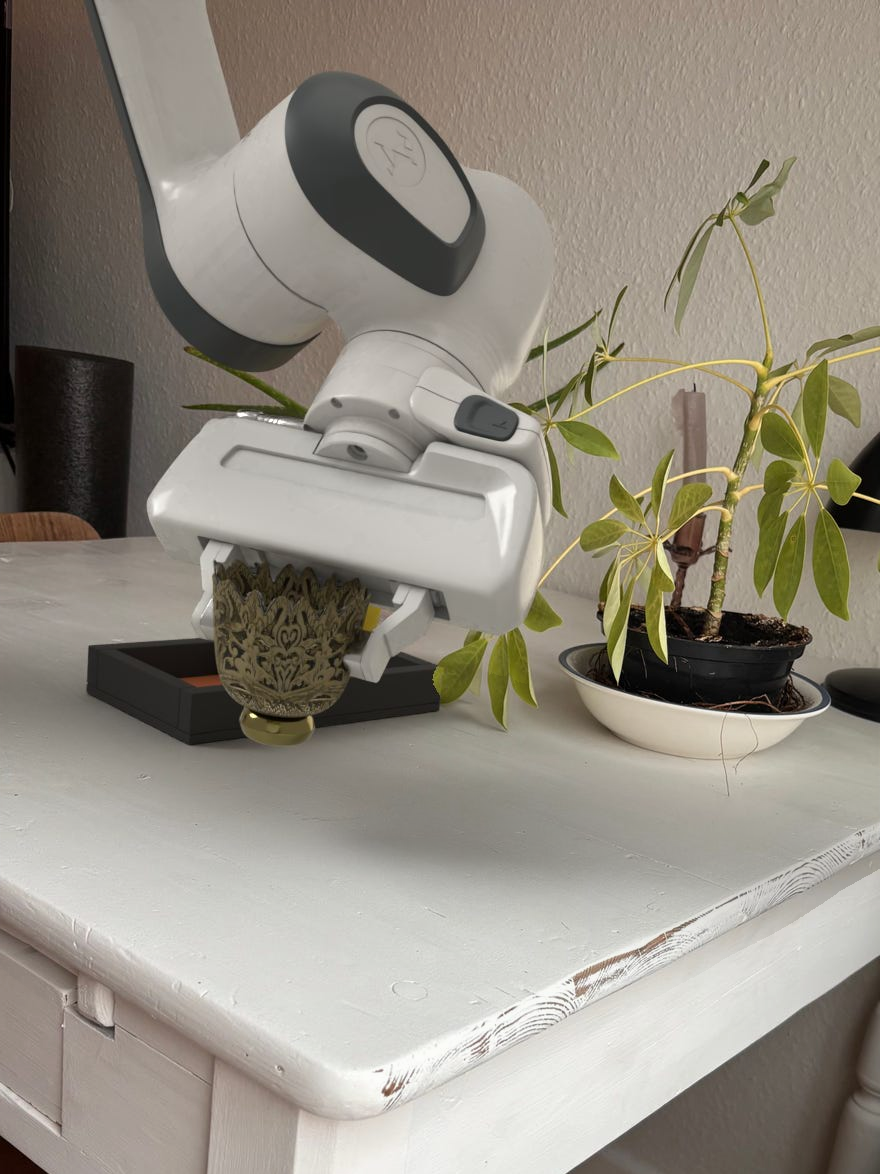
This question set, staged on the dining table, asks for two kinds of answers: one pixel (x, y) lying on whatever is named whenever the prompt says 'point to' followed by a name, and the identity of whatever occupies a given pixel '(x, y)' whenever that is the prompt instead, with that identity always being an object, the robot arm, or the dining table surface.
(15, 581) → the dining table surface
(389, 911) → the dining table surface
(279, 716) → the cup
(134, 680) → the tray
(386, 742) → the dining table surface
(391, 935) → the dining table surface
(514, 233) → the robot arm
